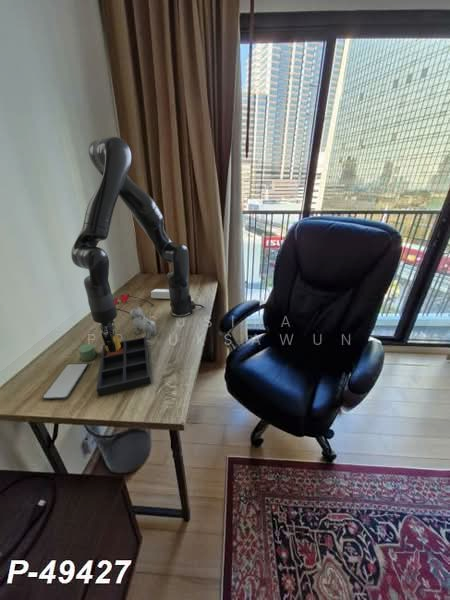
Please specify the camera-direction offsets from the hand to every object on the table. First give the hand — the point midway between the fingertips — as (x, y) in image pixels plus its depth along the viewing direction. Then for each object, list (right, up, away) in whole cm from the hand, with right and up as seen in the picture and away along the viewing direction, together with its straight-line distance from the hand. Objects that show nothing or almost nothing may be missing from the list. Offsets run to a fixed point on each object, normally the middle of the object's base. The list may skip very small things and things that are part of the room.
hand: (113, 346), depth 91 cm
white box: (+8, +19, +46) cm, 50 cm away
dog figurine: (+6, +3, +15) cm, 16 cm away
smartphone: (-11, -9, -9) cm, 17 cm away
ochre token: (0, 0, 0) cm, 0 cm away
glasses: (-6, +13, +34) cm, 36 cm away
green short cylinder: (-10, -4, +2) cm, 11 cm away
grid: (+6, -6, -3) cm, 9 cm away
